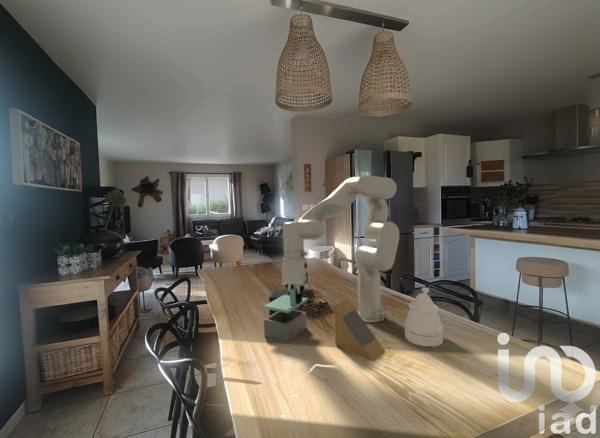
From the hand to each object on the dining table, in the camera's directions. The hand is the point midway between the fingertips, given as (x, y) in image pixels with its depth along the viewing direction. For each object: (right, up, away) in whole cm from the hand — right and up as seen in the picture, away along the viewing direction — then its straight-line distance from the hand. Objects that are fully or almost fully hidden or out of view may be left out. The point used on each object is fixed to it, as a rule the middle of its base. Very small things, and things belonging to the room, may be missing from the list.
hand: (296, 301), depth 108 cm
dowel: (-2, -12, +5) cm, 13 cm away
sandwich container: (+22, -13, -10) cm, 28 cm away
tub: (-4, -13, +3) cm, 14 cm away
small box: (-8, -13, +20) cm, 25 cm away
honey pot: (+47, -12, -4) cm, 49 cm away
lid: (-4, -1, +2) cm, 5 cm away
